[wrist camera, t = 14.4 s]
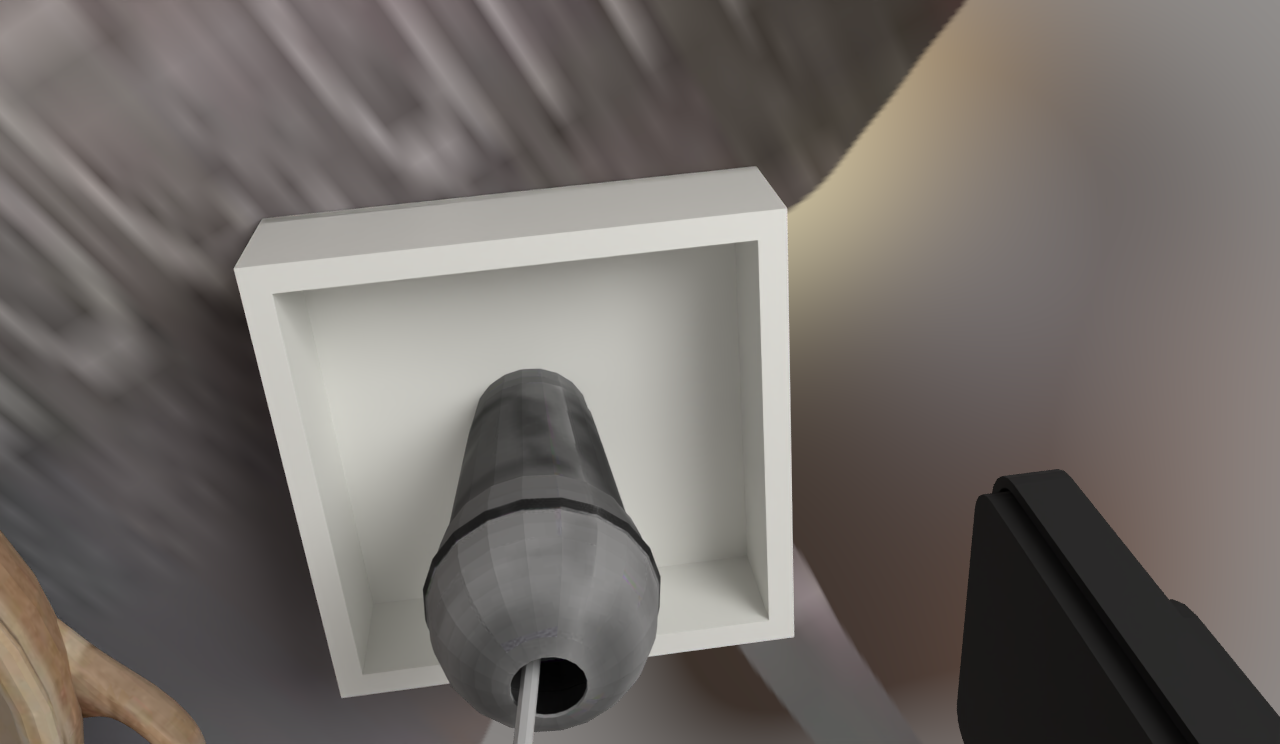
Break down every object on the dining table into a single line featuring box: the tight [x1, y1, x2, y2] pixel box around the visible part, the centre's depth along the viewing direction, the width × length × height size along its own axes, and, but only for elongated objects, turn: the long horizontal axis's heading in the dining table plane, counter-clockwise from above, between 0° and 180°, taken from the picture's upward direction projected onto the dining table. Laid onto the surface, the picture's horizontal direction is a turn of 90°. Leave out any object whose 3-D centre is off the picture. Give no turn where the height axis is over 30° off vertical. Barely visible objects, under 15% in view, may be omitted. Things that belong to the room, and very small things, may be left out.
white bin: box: [234, 166, 794, 698], centre depth 43 cm, size 18×18×5 cm
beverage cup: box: [423, 369, 661, 744], centre depth 36 cm, size 7×7×20 cm
